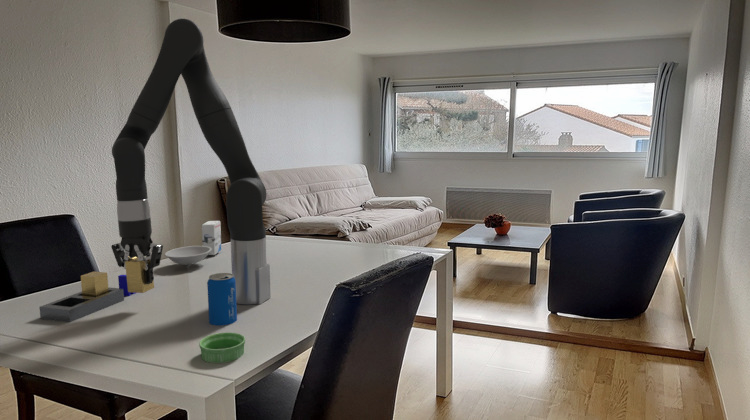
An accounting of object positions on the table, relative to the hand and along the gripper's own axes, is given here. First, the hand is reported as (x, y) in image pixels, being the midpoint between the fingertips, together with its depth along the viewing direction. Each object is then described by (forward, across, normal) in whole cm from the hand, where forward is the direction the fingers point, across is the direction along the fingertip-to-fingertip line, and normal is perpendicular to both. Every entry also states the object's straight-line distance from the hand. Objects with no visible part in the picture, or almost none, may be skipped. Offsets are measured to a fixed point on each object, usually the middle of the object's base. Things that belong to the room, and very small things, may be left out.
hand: (140, 282), depth 135 cm
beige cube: (+7, +15, -1) cm, 16 cm away
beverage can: (+8, -25, +3) cm, 27 cm away
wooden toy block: (+2, 0, 0) cm, 2 cm away
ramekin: (+9, -35, +22) cm, 42 cm away
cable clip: (+8, +15, -15) cm, 23 cm away
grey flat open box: (+7, +15, +3) cm, 17 cm away
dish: (+8, +16, -45) cm, 48 cm away
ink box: (+8, +18, -64) cm, 67 cm away
